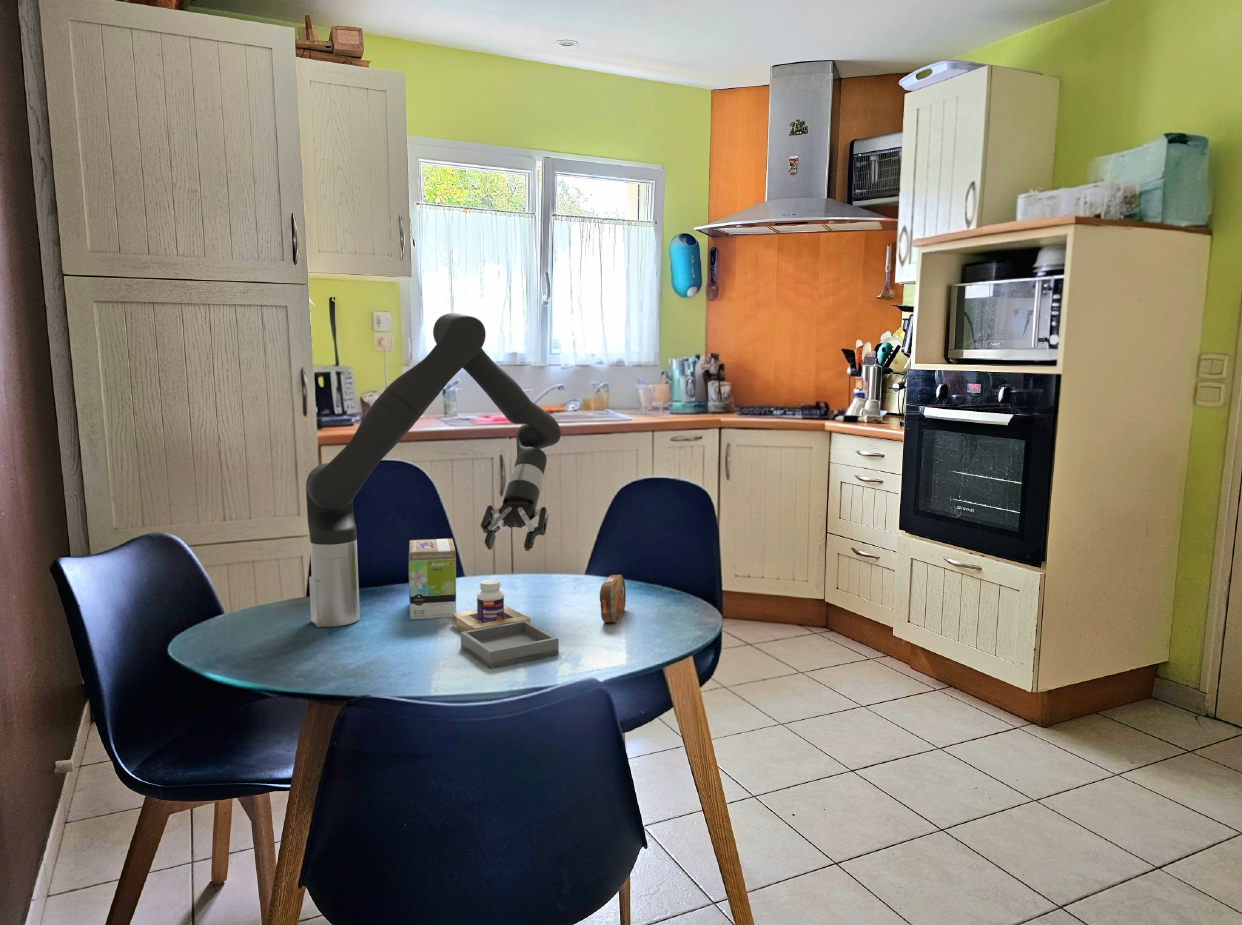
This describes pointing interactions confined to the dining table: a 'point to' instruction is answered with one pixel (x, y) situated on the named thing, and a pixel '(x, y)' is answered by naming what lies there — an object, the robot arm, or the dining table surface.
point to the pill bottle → (490, 602)
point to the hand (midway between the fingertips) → (507, 548)
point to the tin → (612, 598)
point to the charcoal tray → (509, 644)
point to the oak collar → (469, 622)
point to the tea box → (432, 578)
